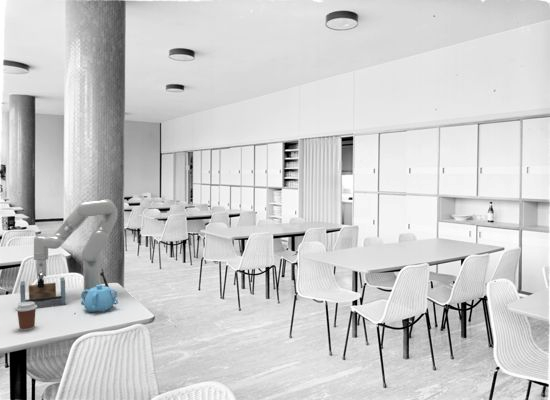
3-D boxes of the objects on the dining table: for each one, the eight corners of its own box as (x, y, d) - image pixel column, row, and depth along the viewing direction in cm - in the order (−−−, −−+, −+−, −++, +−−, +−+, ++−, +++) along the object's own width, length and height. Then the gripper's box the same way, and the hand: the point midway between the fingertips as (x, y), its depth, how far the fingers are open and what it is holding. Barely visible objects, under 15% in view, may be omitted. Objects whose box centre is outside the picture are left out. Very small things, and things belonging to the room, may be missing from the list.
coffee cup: (35, 323, 221) (34, 299, 220) (39, 328, 214) (39, 303, 214) (14, 327, 215) (13, 303, 214) (18, 332, 208) (17, 307, 208)
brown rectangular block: (55, 297, 268) (55, 282, 267) (56, 298, 265) (55, 283, 265) (29, 300, 261) (28, 285, 261) (29, 301, 259) (28, 286, 258)
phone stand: (108, 285, 295) (108, 268, 294) (108, 288, 290) (108, 269, 289) (93, 287, 292) (93, 269, 291) (93, 289, 286) (93, 271, 285)
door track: (64, 300, 260) (64, 277, 259) (65, 304, 252) (65, 280, 251) (21, 306, 250) (20, 281, 249) (21, 310, 242) (20, 285, 241)
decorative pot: (79, 309, 245) (78, 285, 244) (107, 303, 256) (107, 280, 255) (90, 316, 233) (89, 290, 232) (120, 309, 244) (119, 285, 243)
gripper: (48, 259, 256) (48, 288, 257) (47, 254, 271) (47, 281, 272) (33, 259, 252) (33, 289, 253) (33, 254, 268) (33, 282, 268)
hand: (40, 285), depth 263 cm, fingers open, 9 cm apart
